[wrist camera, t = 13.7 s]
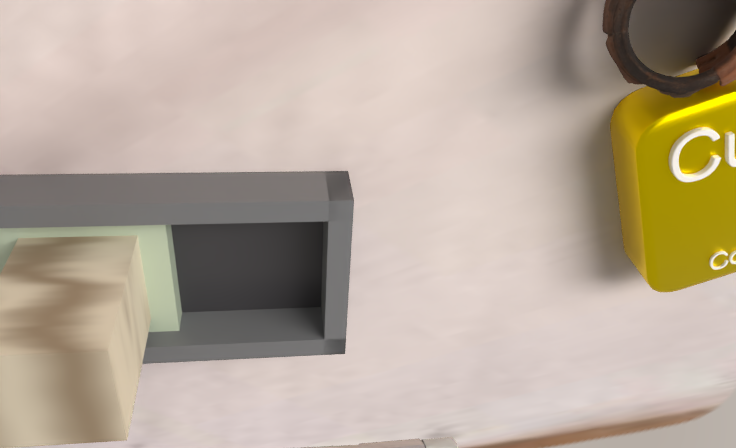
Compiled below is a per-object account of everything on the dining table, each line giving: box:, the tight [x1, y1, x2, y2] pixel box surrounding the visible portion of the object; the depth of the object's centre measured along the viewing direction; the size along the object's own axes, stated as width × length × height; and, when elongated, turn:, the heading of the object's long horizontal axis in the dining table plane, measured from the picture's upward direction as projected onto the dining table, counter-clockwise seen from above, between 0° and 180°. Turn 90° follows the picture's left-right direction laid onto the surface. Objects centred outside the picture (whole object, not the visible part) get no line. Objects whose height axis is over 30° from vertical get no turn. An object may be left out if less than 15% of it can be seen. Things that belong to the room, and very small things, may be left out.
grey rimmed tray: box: [0, 171, 354, 364], centre depth 44 cm, size 32×13×4 cm, turn 86°
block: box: [0, 235, 151, 448], centre depth 39 cm, size 7×7×10 cm
